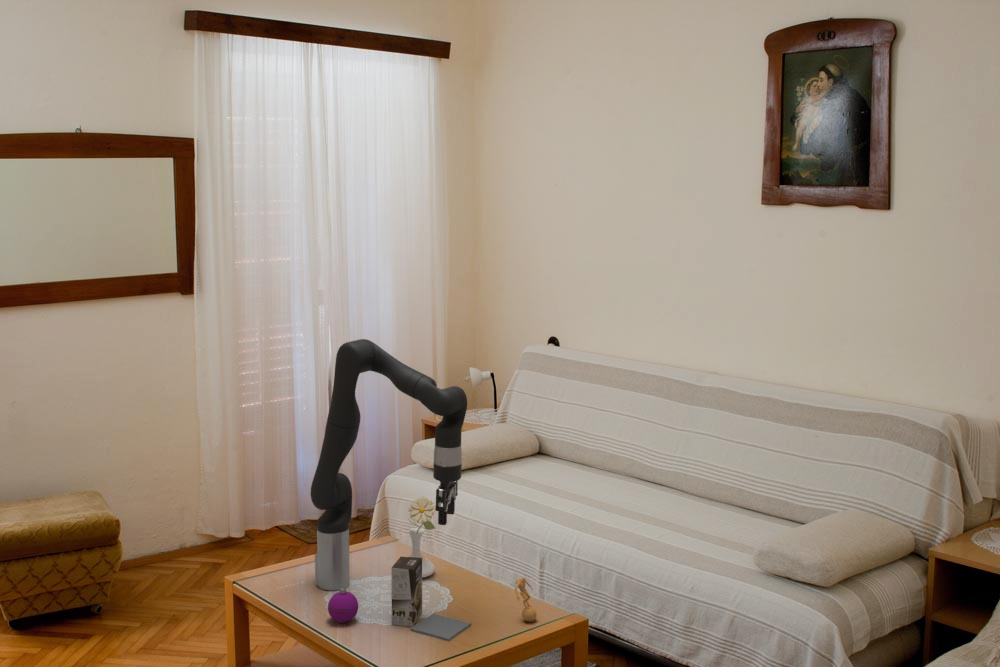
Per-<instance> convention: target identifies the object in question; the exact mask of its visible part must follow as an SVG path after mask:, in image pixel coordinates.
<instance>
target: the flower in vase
mask: <svg viewBox="0 0 1000 667" xmlns="http://www.w3.org/2000/svg"><path fill="white" fill-rule="evenodd" d="M434 503H435V502H434V501H433V500H432V499H430V498H428V497H425V496H422V497H417V498H416V499H413V500H412V502H411V503H410V506H409V507H408V512H409V513H408V514H409V516H410V517H409V518H410V519H409V518H407V520H408V522H409V523H411V524H412V525H414V526H416V527H417V528H416V527H414V528H410V529H408V530H407V533H408V534H409V535H410V538H411V543H412V548H411V549H412V551H411V554H410V555H409V557H418V558H422V579H424V578H426V577H429V576H431V575H433V574H434V573H435V571H436V568H435V565H434V564H433V563H432V562H431V561H430V560H429V559H427V558H426V557H425V556H424V555H422V553H421V538H422V536H423V534H424V533H425V530H428V531H429V530H434V529H436V526H435V525H434V524H433V523H432V521H431V519H432V517H433V516H434V515H435V511H436V510H435V508H436V504H434ZM411 520H412V521H411ZM413 521H414V522H413ZM415 522H416V523H415ZM419 524H421V525H420V526H419ZM422 526H423V527H424V529H425V530H424V529H423V528H422Z"/></svg>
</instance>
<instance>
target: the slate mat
mask: <svg viewBox="0 0 1000 667" xmlns="http://www.w3.org/2000/svg"><path fill="white" fill-rule="evenodd" d="M471 626H472V623H471V622H468V621H464V620H459V619H457V618H452V617H449V616H444V615H443V614H442V615H441V614H437V613H432V614H430V615H429V616H428V617H426V618H424V619H423V620H421V621H420V622H418V623H417V624H414V626H412V627H410V631H411V632H414V633H418V634H421V635H425V636H429V637H433V638H436V639H441V640H442V641H443V640H444V641H447V642H450V641H451V640H453V639H454V638H456V637H457V636H458V635H460V634H461V633H463V632H464V631H465V630H467V629H468V628H470V627H471Z"/></svg>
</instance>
